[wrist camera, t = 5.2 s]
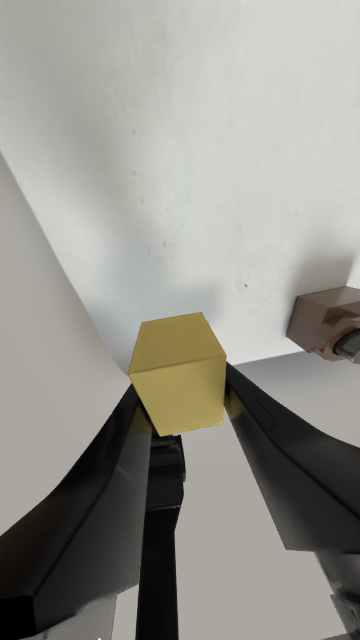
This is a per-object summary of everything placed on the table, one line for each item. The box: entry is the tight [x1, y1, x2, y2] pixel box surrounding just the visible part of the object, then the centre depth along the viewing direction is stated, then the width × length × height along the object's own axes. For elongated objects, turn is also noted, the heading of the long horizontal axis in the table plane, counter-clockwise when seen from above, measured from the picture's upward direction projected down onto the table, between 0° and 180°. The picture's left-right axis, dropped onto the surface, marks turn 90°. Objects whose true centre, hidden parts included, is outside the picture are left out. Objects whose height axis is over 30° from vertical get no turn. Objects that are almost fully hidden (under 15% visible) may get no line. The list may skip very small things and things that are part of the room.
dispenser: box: [286, 286, 360, 361], centre depth 20 cm, size 9×8×6 cm
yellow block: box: [128, 312, 226, 436], centre depth 8 cm, size 6×4×4 cm, turn 8°
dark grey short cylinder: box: [332, 328, 360, 364], centre depth 17 cm, size 4×4×2 cm
